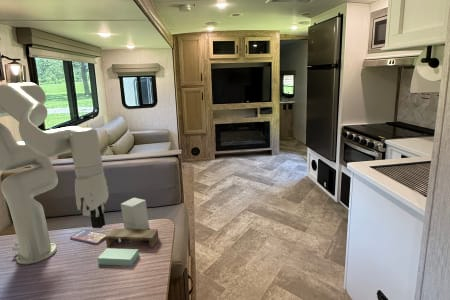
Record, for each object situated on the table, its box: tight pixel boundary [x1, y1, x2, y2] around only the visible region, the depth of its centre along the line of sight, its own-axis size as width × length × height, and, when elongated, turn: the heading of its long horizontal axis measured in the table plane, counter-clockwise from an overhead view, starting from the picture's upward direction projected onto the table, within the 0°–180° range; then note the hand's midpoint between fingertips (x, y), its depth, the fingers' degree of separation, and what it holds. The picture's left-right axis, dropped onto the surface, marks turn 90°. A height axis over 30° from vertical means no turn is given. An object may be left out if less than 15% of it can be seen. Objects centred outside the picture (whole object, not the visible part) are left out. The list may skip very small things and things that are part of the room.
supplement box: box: [120, 197, 150, 229], centre depth 122 cm, size 7×7×13 cm
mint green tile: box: [97, 247, 140, 266], centre depth 103 cm, size 12×6×2 cm, turn 81°
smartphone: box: [69, 229, 108, 246], centre depth 119 cm, size 1×7×15 cm
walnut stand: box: [105, 228, 160, 249], centre depth 113 cm, size 18×6×4 cm, turn 81°
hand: (98, 226), depth 91 cm, fingers closed
